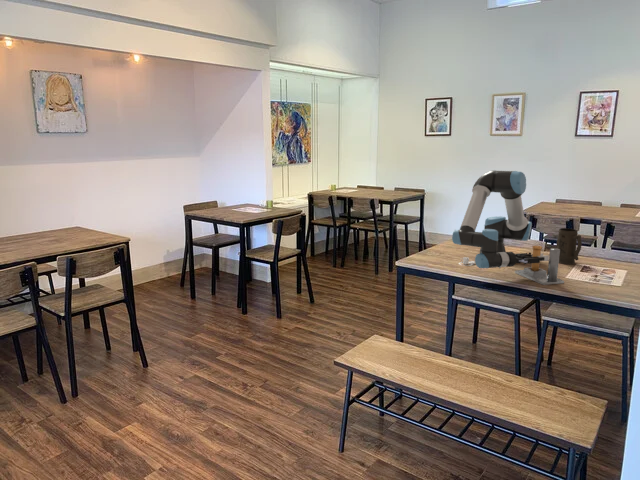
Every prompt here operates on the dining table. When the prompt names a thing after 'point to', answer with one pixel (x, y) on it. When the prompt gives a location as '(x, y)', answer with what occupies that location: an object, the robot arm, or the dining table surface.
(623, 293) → the dining table surface
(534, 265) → the orange cylinder
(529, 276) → the grey upright stand
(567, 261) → the beer stein
